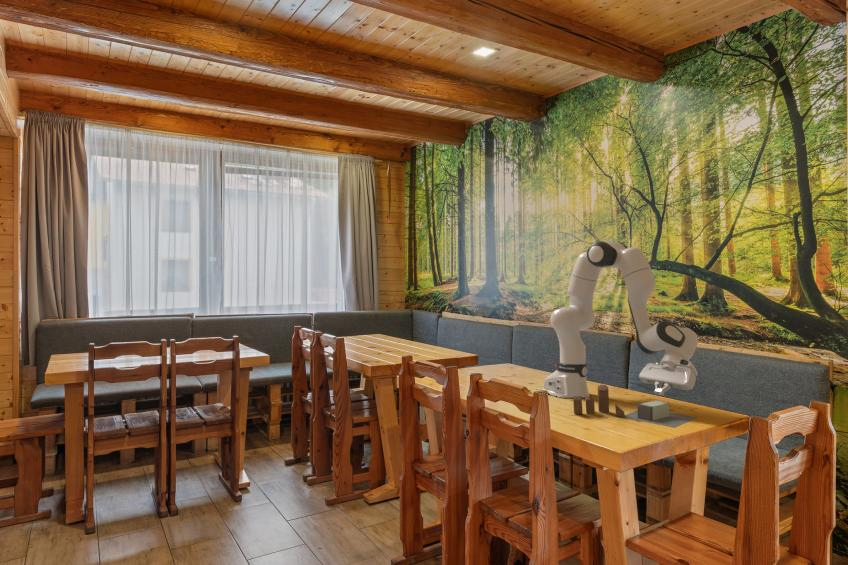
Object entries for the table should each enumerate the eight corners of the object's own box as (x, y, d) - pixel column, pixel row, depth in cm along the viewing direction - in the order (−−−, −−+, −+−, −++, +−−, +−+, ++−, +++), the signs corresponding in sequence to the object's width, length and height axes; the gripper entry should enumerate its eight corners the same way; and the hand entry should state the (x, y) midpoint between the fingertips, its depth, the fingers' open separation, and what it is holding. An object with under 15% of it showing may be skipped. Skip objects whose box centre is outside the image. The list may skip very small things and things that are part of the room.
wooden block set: (574, 420, 208) (573, 397, 205) (573, 408, 216) (572, 385, 213) (625, 420, 204) (624, 396, 200) (622, 407, 212) (621, 384, 208)
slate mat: (619, 418, 204) (619, 416, 204) (644, 409, 217) (644, 408, 217) (674, 429, 189) (674, 427, 189) (697, 419, 203) (697, 417, 203)
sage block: (656, 413, 209) (637, 418, 202) (656, 400, 209) (637, 404, 202) (669, 416, 204) (650, 421, 198) (669, 402, 204) (650, 407, 198)
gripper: (645, 356, 218) (630, 383, 212) (695, 363, 201) (680, 393, 195) (651, 366, 220) (636, 394, 215) (702, 374, 203) (687, 404, 198)
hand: (658, 393), depth 205 cm, fingers closed
